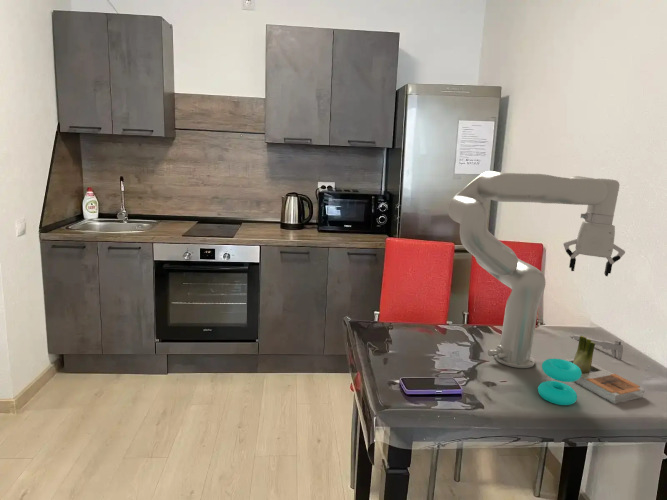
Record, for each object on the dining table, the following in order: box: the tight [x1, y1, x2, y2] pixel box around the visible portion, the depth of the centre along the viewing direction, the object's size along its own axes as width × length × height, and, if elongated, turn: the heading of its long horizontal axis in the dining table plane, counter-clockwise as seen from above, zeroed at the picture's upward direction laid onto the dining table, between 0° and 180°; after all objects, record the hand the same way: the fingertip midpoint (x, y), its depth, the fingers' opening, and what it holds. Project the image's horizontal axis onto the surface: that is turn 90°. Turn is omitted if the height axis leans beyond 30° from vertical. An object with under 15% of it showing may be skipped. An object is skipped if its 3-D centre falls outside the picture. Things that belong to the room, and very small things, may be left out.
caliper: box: [569, 334, 624, 360], centre depth 177 cm, size 20×1×6 cm, turn 23°
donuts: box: [537, 357, 582, 406], centre depth 138 cm, size 10×10×10 cm
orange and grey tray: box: [563, 357, 646, 405], centre depth 150 cm, size 12×22×3 cm, turn 24°
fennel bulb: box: [573, 335, 595, 374], centre depth 154 cm, size 6×5×12 cm
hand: (589, 272), depth 159 cm, fingers open, 9 cm apart
